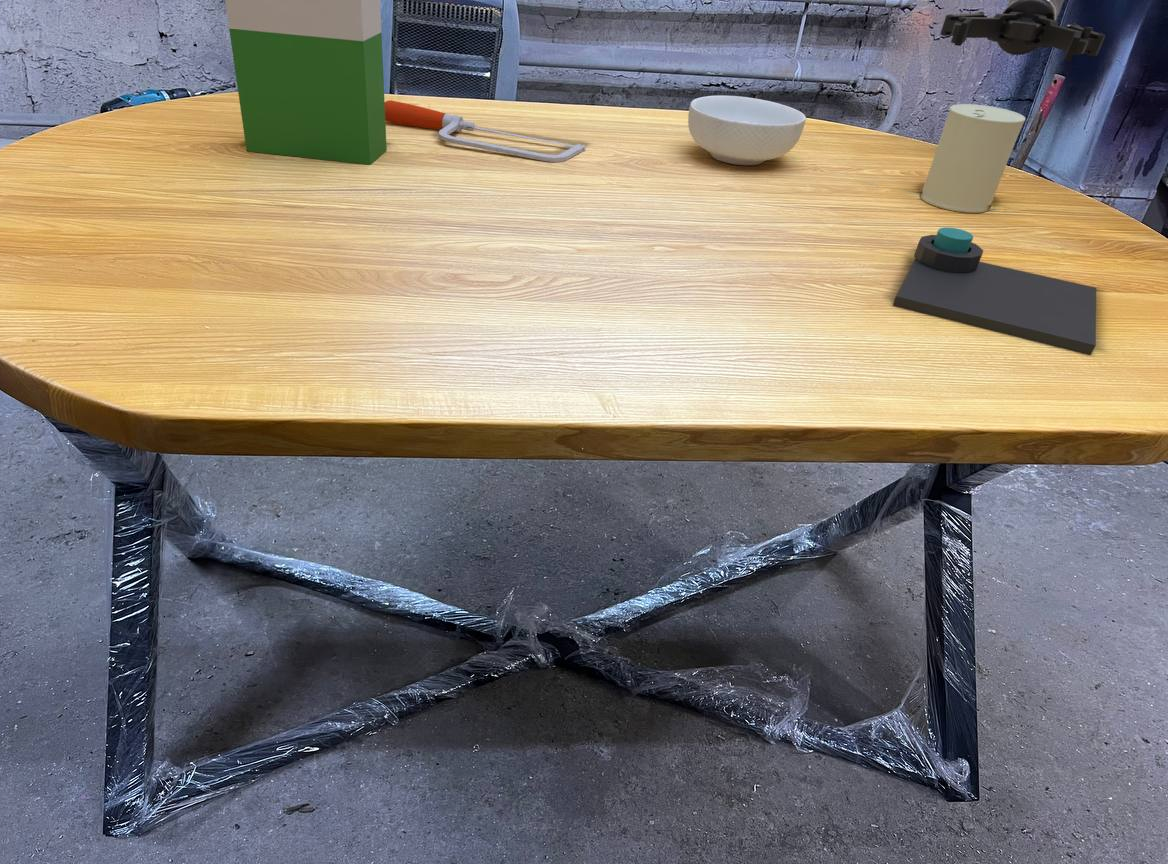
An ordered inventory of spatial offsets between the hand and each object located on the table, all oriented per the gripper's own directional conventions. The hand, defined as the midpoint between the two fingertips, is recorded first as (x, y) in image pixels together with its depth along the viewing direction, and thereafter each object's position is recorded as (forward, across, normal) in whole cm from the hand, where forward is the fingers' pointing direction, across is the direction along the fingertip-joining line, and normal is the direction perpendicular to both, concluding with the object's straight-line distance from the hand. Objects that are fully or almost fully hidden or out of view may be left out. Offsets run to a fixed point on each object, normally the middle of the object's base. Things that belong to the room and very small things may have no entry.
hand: (1015, 41), depth 109 cm
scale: (+44, -8, -18) cm, 48 cm away
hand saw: (+29, +66, -19) cm, 74 cm away
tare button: (+38, -2, -16) cm, 41 cm away
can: (+10, 0, -19) cm, 21 cm away
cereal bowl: (+10, +31, -19) cm, 38 cm away
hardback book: (+48, +80, -19) cm, 95 cm away
